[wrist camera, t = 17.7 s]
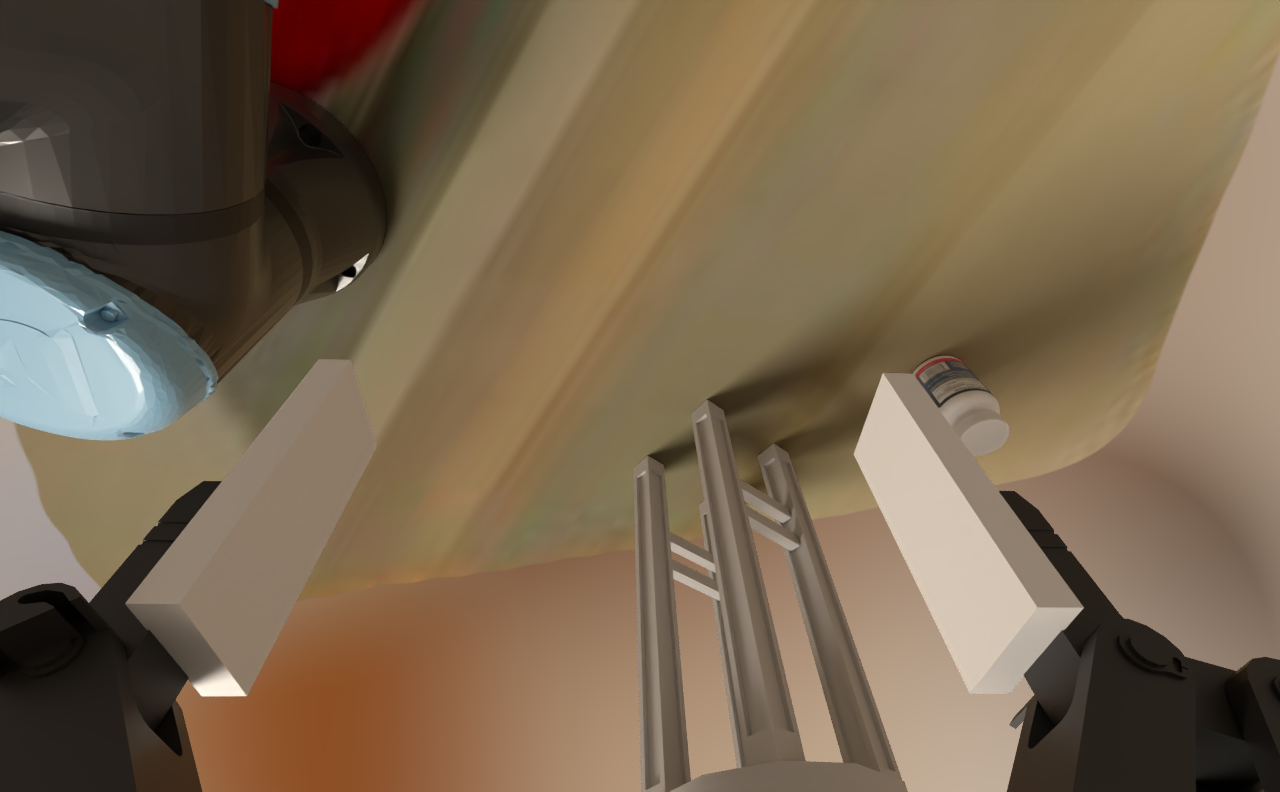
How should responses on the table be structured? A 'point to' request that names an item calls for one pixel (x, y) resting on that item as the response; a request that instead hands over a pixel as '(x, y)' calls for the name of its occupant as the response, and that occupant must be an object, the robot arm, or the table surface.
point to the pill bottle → (964, 403)
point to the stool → (747, 633)
